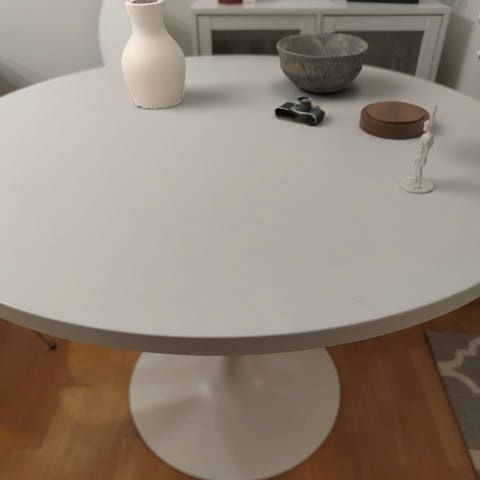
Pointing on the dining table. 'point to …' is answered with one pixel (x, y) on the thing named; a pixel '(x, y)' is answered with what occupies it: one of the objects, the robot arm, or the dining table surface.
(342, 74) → the bowl
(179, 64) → the vase
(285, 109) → the camera
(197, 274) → the dining table surface
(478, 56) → the robot arm
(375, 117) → the stand
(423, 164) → the figurine
